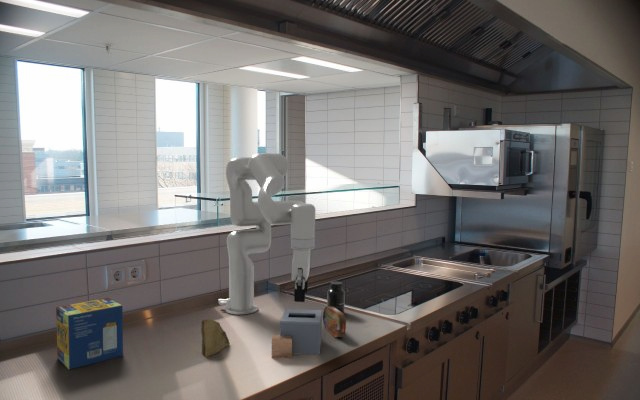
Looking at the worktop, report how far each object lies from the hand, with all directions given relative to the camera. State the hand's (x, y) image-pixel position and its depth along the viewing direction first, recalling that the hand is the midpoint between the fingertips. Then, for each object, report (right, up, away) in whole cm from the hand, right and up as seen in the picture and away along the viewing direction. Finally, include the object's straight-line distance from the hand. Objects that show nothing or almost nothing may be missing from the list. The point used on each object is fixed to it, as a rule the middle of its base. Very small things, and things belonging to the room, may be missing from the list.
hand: (301, 296), depth 151 cm
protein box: (-62, -16, -10) cm, 64 cm away
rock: (-26, -16, -3) cm, 31 cm away
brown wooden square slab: (-5, -16, -8) cm, 19 cm away
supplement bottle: (+12, -14, +35) cm, 39 cm away
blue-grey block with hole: (0, -16, +1) cm, 16 cm away
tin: (+11, -15, +13) cm, 23 cm away
